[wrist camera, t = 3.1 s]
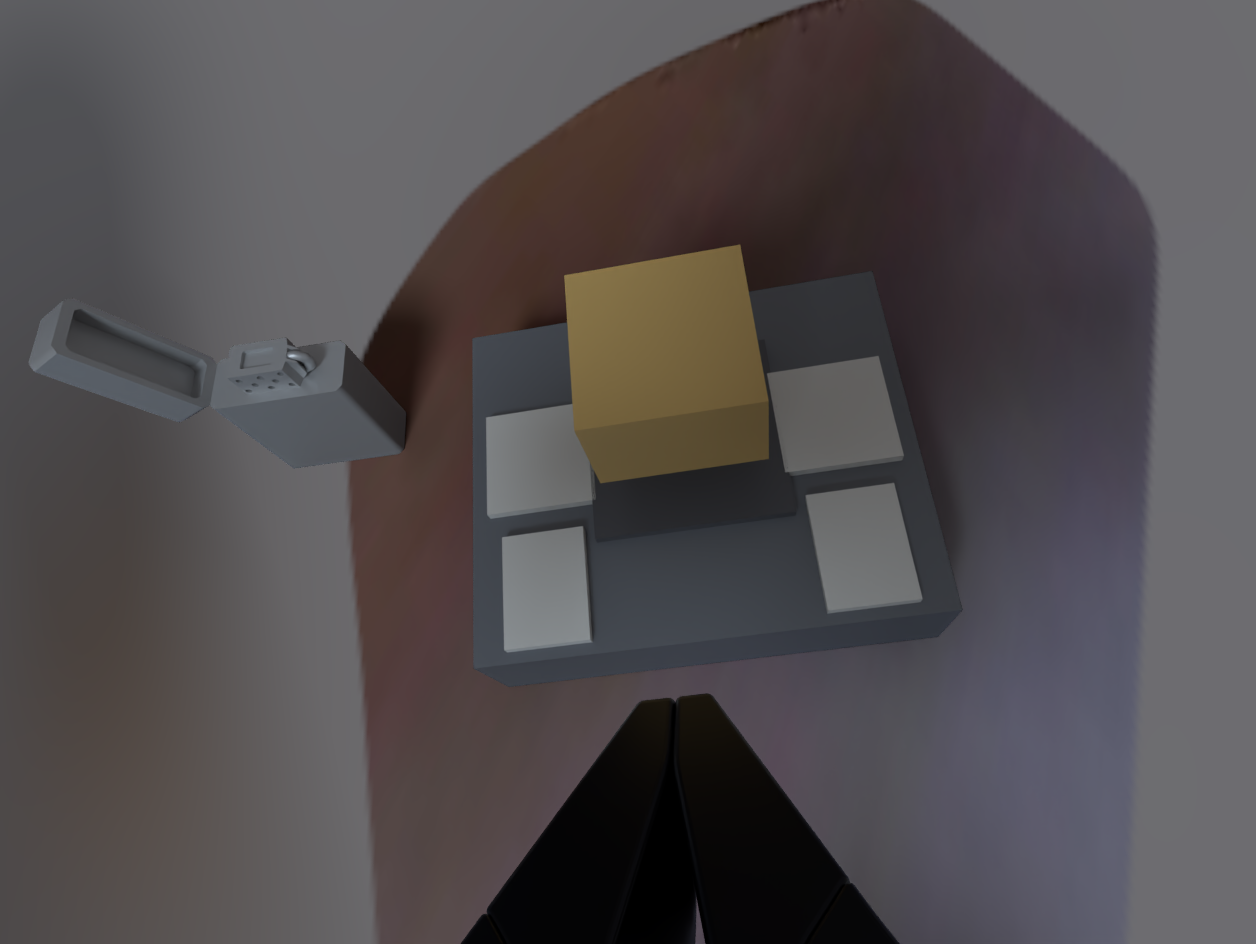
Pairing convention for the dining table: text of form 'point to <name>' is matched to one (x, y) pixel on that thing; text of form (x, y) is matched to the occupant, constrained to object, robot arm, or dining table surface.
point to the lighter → (229, 385)
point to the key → (666, 366)
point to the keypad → (707, 512)
